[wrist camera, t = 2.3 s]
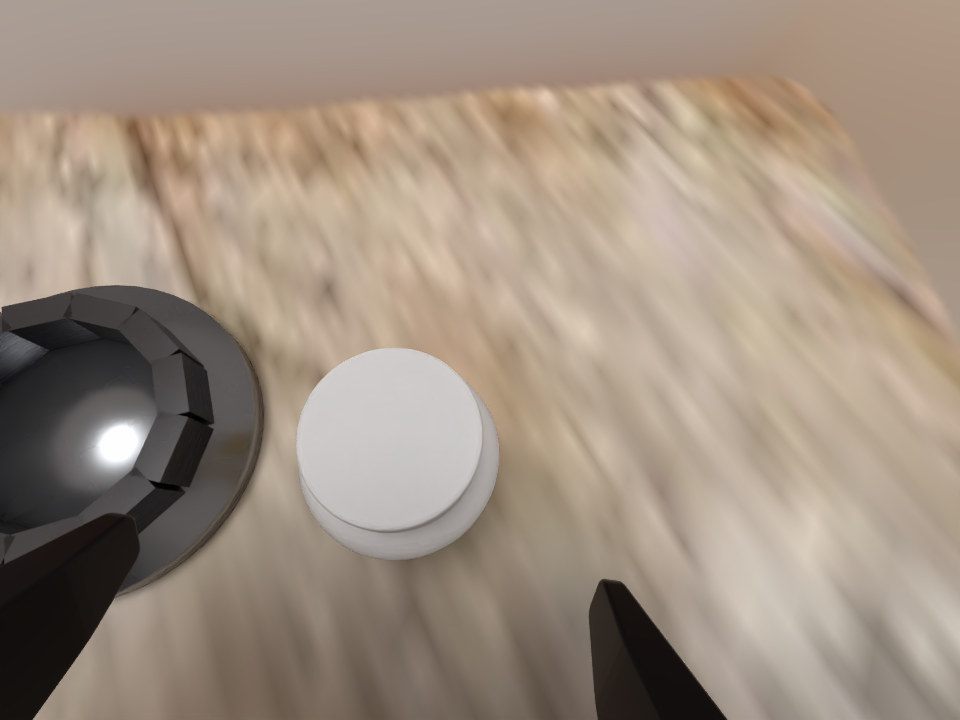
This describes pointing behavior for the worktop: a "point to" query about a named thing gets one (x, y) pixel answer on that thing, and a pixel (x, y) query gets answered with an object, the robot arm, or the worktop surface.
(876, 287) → the worktop surface
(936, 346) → the worktop surface
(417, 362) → the supplement bottle
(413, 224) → the worktop surface
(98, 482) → the collar holder
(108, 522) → the robot arm
